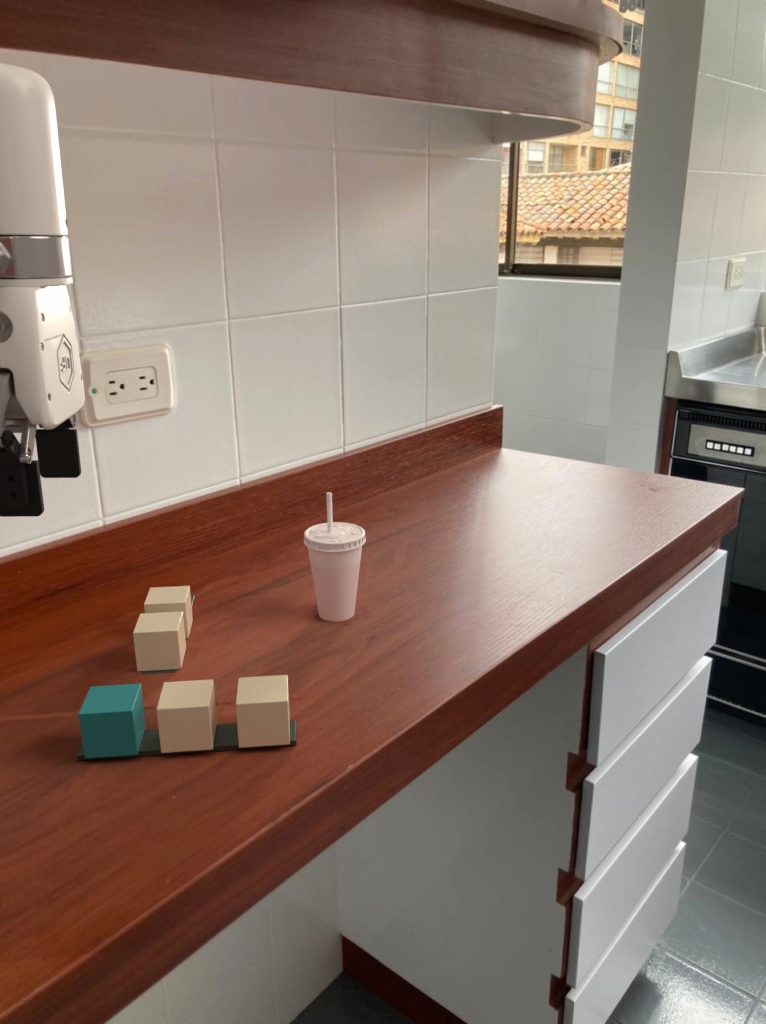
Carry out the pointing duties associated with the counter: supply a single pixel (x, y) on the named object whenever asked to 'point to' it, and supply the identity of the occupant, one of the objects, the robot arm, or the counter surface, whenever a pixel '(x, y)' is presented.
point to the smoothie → (335, 565)
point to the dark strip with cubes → (194, 719)
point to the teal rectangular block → (112, 720)
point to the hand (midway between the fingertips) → (42, 494)
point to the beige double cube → (163, 629)
